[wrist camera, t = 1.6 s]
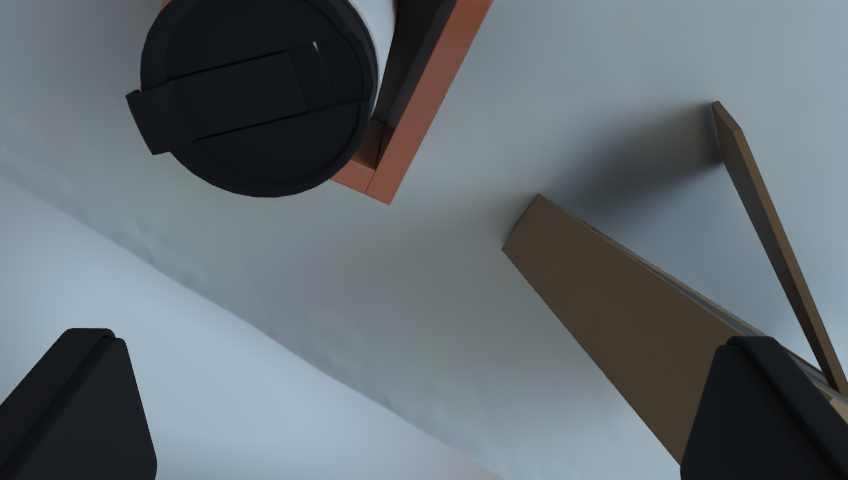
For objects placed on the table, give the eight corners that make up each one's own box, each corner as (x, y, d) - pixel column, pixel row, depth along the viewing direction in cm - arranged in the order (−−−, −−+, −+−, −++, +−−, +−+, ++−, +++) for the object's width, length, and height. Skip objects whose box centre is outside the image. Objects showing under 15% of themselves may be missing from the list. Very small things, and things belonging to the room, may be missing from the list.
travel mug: (263, -40, 32) (75, 7, 15) (382, -71, 32) (333, -60, 14) (300, 74, 35) (179, 229, 18) (410, 48, 35) (398, 182, 17)
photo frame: (730, 376, 46) (1014, 797, 24) (499, 242, 41) (593, 627, 18) (894, 231, 40) (1468, 609, 18) (650, 50, 35) (1052, 279, 13)
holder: (195, 60, 35) (137, 95, 28) (267, -180, 30) (219, -212, 22) (395, 152, 38) (389, 205, 30) (496, -53, 32) (516, -46, 25)
